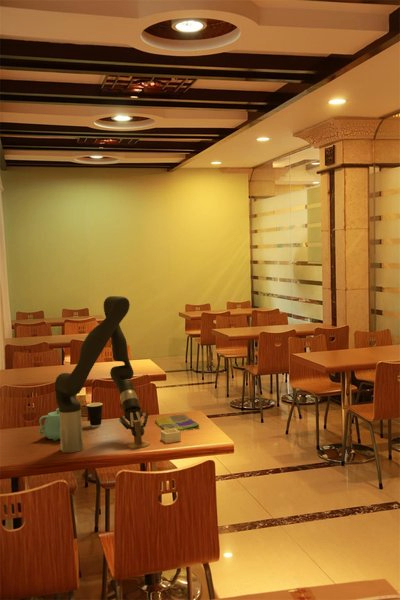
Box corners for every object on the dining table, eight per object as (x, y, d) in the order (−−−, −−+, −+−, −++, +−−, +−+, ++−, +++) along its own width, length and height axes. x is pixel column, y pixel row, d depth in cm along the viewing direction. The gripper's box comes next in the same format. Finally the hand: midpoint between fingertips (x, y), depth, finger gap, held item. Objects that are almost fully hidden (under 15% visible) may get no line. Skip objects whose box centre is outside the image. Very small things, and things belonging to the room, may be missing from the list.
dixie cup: (88, 424, 315) (87, 403, 314) (104, 423, 316) (103, 401, 315) (87, 428, 307) (85, 406, 307) (103, 427, 308) (101, 405, 307)
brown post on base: (130, 449, 267) (129, 424, 266) (124, 444, 275) (123, 420, 275) (152, 446, 270) (150, 421, 270) (145, 441, 279) (144, 417, 278)
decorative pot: (62, 443, 282) (60, 414, 281) (35, 440, 290) (34, 411, 289) (85, 434, 296) (84, 406, 295) (60, 431, 304) (58, 403, 304)
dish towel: (164, 434, 291) (164, 428, 291) (154, 422, 314) (153, 417, 314) (200, 429, 295) (200, 424, 295) (187, 418, 319) (187, 413, 319)
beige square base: (165, 443, 274) (165, 434, 273) (161, 439, 280) (160, 430, 280) (180, 440, 276) (180, 431, 276) (175, 437, 283) (175, 428, 283)
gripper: (115, 399, 276) (124, 433, 265) (146, 395, 281) (155, 428, 270) (113, 409, 281) (122, 442, 271) (143, 405, 286) (153, 437, 276)
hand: (139, 435), depth 271 cm, fingers closed on brown post on base, 2 cm apart
